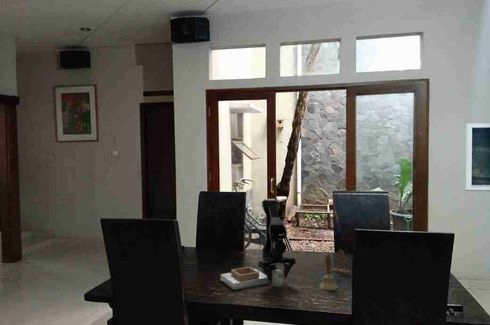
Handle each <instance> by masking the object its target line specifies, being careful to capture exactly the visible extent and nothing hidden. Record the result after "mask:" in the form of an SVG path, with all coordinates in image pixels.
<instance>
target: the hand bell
mask: <svg viewBox="0 0 490 325" xmlns="http://www.w3.org/2000/svg"><path fill="white" fill-rule="evenodd" d="M331 266H332V259H331V256H330V254H327V255H326V257H325V267H326V275H324V276H323V281H322V283H321V284H320V286H319V288H320V289H322V290H324V291H336V290H338V285H337V284H336V282H335V279H334V276H333V275H331Z"/></svg>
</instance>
